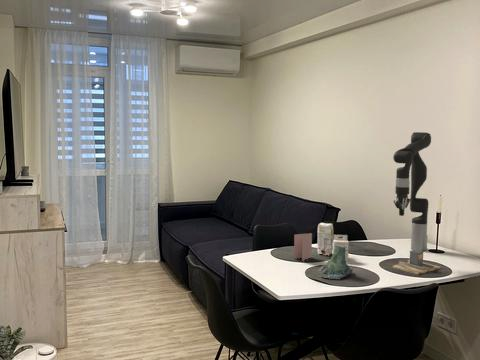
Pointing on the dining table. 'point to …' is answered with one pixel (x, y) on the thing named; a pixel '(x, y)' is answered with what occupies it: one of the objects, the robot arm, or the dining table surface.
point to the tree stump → (336, 264)
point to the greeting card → (303, 246)
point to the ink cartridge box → (341, 243)
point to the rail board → (415, 267)
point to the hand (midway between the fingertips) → (401, 215)
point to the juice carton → (325, 239)
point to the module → (416, 258)
